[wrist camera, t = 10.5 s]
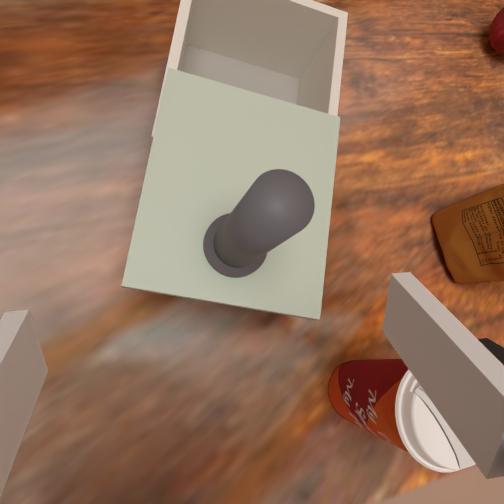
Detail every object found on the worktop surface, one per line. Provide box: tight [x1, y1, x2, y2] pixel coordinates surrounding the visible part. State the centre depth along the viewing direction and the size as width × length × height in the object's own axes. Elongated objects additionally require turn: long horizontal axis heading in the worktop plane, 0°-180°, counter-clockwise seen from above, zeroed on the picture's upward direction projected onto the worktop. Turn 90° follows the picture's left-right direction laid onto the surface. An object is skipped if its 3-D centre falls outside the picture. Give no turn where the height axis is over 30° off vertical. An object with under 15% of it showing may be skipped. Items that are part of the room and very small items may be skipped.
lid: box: [121, 67, 340, 320], centre depth 26 cm, size 14×16×11 cm
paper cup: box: [328, 359, 476, 472], centre depth 34 cm, size 8×8×14 cm
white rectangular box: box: [150, 0, 348, 151], centre depth 38 cm, size 14×16×10 cm
